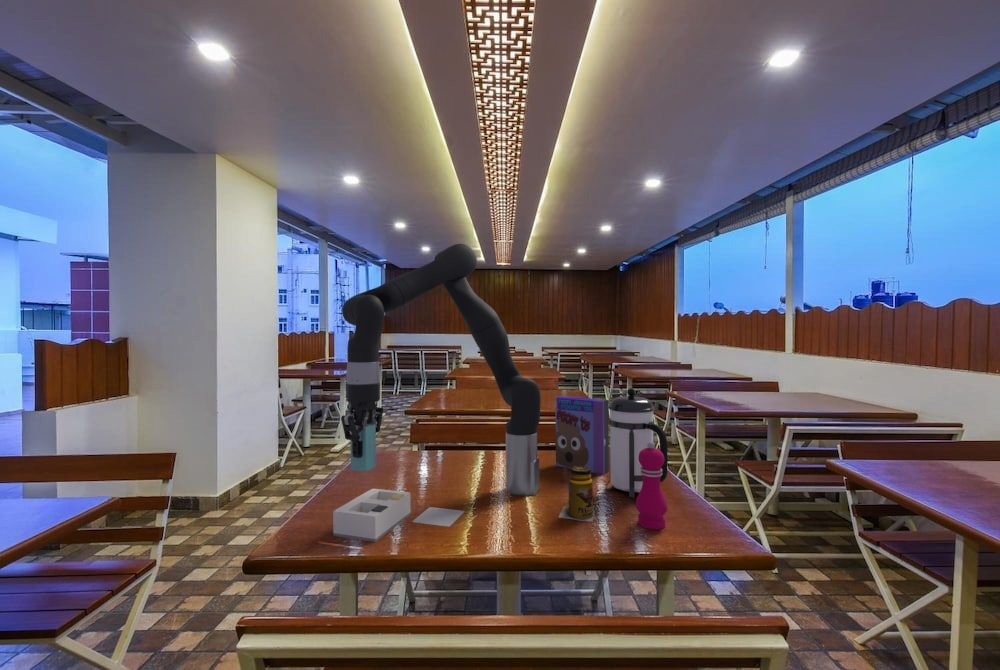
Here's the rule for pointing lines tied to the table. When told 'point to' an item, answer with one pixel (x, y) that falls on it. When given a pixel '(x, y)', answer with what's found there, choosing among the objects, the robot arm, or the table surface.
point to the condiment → (579, 495)
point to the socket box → (371, 514)
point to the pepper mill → (651, 489)
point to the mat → (439, 516)
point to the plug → (366, 450)
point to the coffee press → (632, 441)
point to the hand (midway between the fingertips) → (363, 454)
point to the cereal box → (582, 433)
